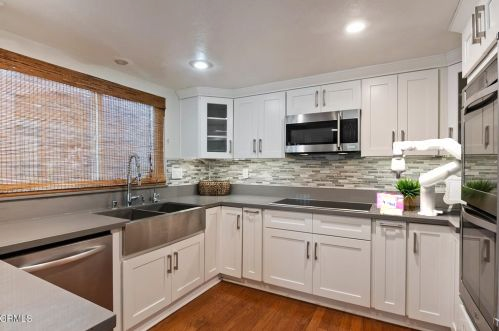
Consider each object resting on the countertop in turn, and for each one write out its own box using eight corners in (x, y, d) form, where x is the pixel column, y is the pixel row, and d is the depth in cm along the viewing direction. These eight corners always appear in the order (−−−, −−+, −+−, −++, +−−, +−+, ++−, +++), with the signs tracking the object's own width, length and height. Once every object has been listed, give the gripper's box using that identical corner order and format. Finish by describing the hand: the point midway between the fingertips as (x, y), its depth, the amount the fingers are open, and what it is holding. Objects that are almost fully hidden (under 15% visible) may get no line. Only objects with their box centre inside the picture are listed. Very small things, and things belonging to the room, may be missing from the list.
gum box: (375, 207, 242) (375, 192, 242) (382, 207, 244) (382, 192, 244) (395, 212, 219) (395, 195, 219) (403, 211, 221) (403, 195, 221)
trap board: (402, 212, 216) (402, 208, 216) (401, 215, 206) (401, 211, 206) (381, 210, 224) (381, 207, 224) (380, 213, 214) (380, 209, 214)
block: (387, 209, 215) (387, 204, 215) (387, 209, 212) (387, 204, 212) (382, 208, 217) (382, 203, 217) (382, 209, 214) (382, 204, 214)
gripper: (408, 156, 219) (408, 179, 219) (388, 157, 227) (388, 178, 227) (408, 156, 213) (408, 179, 213) (387, 156, 220) (387, 179, 221)
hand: (398, 178), depth 220 cm, fingers closed
